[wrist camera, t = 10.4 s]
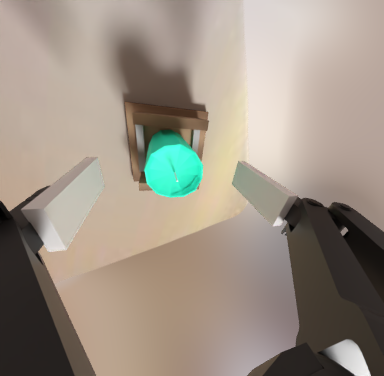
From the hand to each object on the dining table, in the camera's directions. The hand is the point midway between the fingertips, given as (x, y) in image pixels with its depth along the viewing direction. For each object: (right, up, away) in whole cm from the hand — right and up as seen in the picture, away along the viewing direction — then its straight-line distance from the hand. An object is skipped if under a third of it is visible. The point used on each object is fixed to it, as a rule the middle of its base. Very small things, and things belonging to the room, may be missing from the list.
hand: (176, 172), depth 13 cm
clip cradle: (-3, +6, +10) cm, 12 cm away
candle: (-3, +5, +10) cm, 11 cm away
